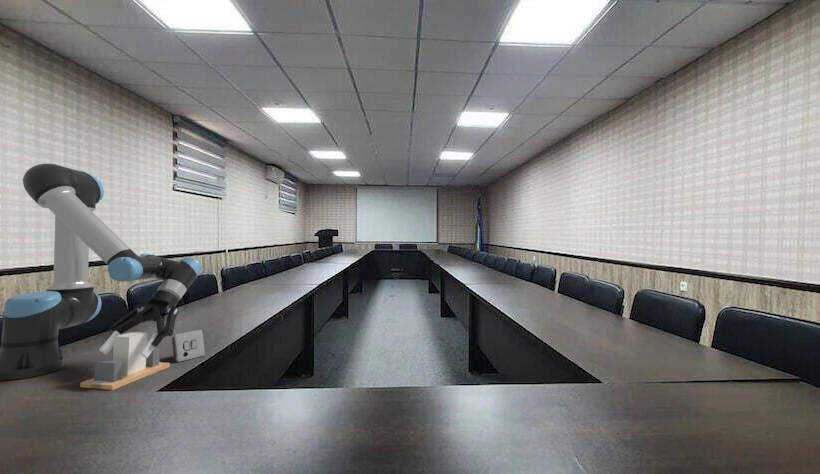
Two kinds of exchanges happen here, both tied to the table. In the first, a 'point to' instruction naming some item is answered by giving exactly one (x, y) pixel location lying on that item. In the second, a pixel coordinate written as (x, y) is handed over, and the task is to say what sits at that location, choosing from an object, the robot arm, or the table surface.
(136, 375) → the board
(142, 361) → the block
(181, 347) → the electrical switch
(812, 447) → the table surface
